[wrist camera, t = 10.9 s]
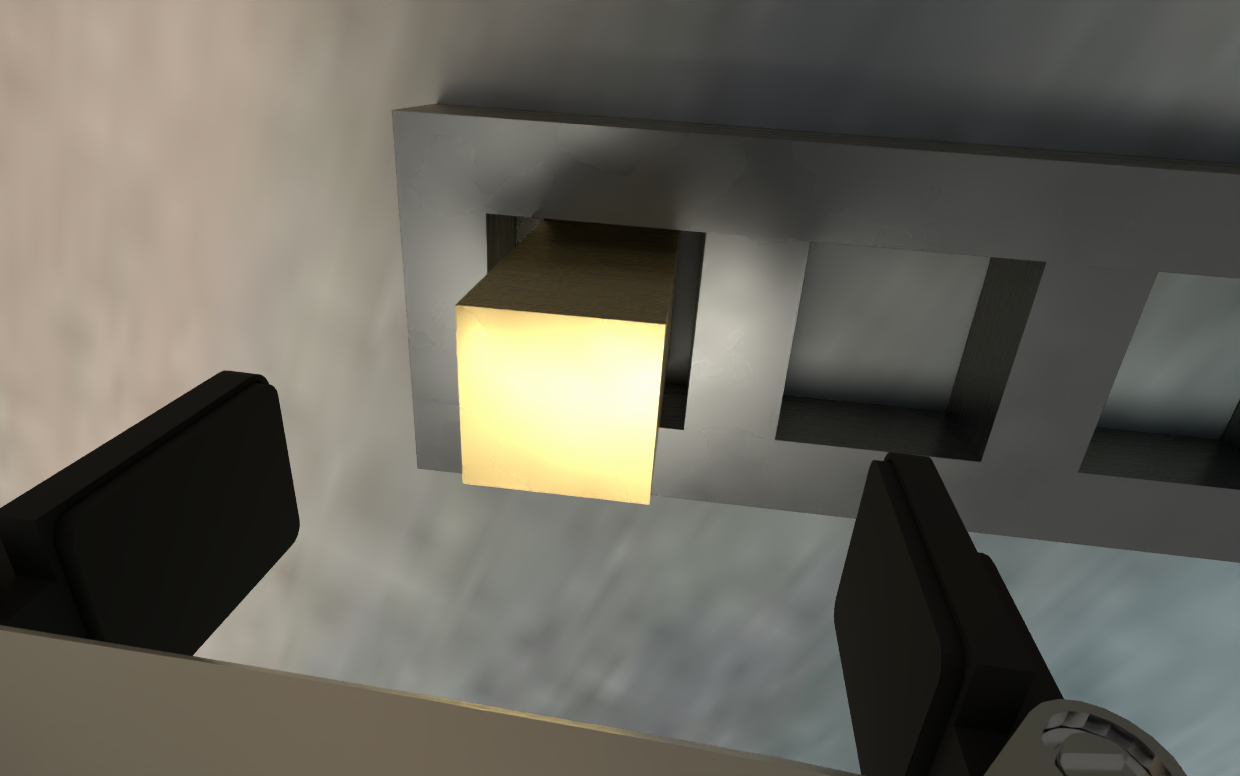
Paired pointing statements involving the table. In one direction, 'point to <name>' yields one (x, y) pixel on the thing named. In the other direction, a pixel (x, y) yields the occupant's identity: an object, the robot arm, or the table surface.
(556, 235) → the brass peg
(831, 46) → the table surface
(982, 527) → the steel rail
